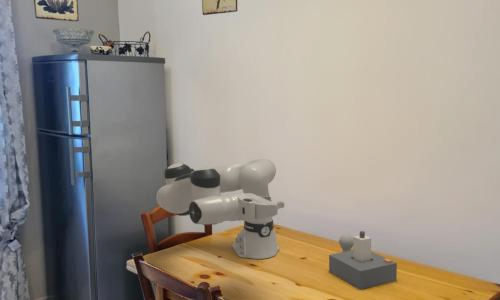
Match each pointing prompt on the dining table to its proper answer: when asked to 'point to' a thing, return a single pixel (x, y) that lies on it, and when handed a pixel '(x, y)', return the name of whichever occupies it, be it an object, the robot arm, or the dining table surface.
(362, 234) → the plug
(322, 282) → the dining table surface
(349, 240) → the light bulb
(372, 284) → the socket housing
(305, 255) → the dining table surface
